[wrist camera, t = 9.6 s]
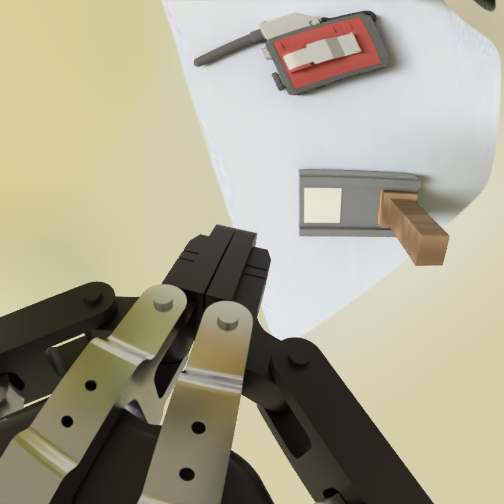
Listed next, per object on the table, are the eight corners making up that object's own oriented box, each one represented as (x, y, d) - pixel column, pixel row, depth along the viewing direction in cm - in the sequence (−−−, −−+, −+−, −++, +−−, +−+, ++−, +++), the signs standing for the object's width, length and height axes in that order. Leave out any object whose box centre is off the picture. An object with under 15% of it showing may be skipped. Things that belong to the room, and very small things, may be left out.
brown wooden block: (382, 190, 30) (416, 228, 21) (414, 191, 29) (456, 229, 21) (378, 224, 32) (407, 271, 23) (410, 225, 31) (446, 271, 22)
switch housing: (298, 169, 32) (299, 175, 30) (412, 174, 31) (421, 180, 28) (298, 228, 36) (299, 238, 33) (405, 229, 34) (412, 239, 31)
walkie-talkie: (361, -1, 22) (193, 57, 27) (371, -13, 18) (180, 52, 24) (393, 67, 25) (226, 124, 31) (408, 64, 22) (217, 127, 27)
